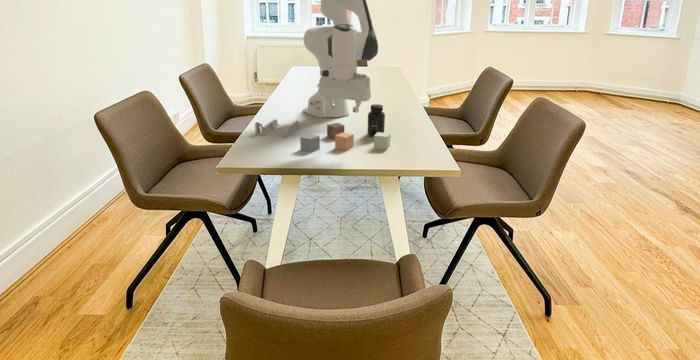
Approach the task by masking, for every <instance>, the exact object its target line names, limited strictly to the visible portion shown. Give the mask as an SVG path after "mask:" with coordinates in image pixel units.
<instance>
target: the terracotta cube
mask: <svg viewBox="0 0 700 360" xmlns="http://www.w3.org/2000/svg"><path fill="white" fill-rule="evenodd" d="M354 137H355V134H353V133H348V132H344V133H343V132H342V133H340V134H338V135H335V139H334V146H335V147H334V148H335V149H336V150H341V151H349V150H350V148H351V149H353V148H354V146H355V145H354V143H355V142H354V140H355V138H354ZM352 147H353V148H352Z"/></svg>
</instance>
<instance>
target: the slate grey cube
mask: <svg viewBox="0 0 700 360" xmlns="http://www.w3.org/2000/svg"><path fill="white" fill-rule="evenodd" d="M299 138H300V140H299V143H300V151H305V152H309V153H313V152H316V151H318V150H321V148H320V147H321V145H320V144H321V143H320V142H321V141H320V140H321V139H320V138H321V137H320V135H316V134H311V133H308V134H304V135H302V136H300V137H299Z"/></svg>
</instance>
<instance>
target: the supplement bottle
mask: <svg viewBox="0 0 700 360" xmlns="http://www.w3.org/2000/svg"><path fill="white" fill-rule="evenodd" d="M383 110H384V106H383V104H376V103H374V104H371V105H370V111H369V112H368V114H367V132H366V133H367V135H368V136H370V137H373V138H374V135H375V134H376V133H377V132H382V133H385V124H386V123H385V121H386V119H385V118H386V114H385V112H383Z"/></svg>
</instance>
